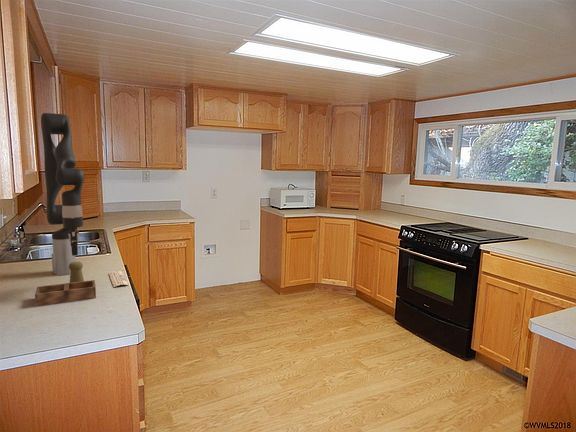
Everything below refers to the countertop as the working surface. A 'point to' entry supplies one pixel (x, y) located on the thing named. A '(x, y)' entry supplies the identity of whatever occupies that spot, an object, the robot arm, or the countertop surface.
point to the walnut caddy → (65, 292)
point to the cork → (76, 272)
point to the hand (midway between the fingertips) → (75, 253)
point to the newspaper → (117, 278)
